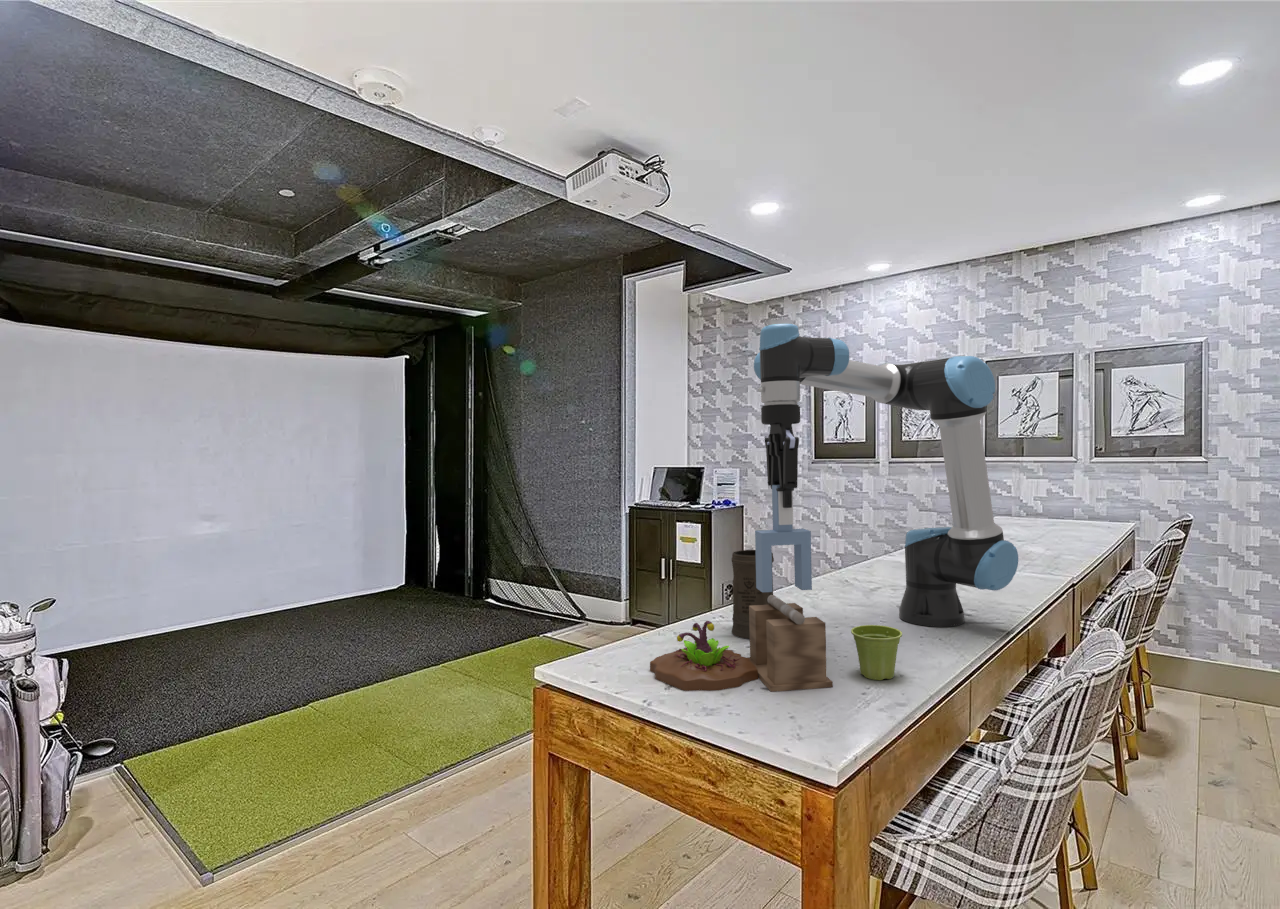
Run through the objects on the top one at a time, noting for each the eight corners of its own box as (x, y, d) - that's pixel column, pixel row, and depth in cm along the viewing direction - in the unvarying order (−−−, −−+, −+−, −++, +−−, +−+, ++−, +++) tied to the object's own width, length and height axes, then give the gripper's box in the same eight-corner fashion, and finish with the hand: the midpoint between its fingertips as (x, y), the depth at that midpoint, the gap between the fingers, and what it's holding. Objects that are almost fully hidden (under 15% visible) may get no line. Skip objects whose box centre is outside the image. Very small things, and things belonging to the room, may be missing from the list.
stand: (799, 658, 144) (798, 592, 144) (832, 687, 127) (831, 612, 127) (744, 662, 143) (743, 595, 142) (770, 691, 126) (769, 616, 126)
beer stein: (777, 641, 157) (775, 553, 158) (730, 639, 159) (728, 553, 160) (777, 627, 172) (775, 547, 173) (734, 626, 174) (733, 547, 175)
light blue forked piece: (804, 585, 137) (802, 483, 137) (811, 589, 133) (809, 485, 133) (756, 588, 136) (754, 485, 136) (762, 592, 132) (760, 486, 132)
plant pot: (897, 687, 127) (896, 640, 126) (846, 678, 132) (845, 634, 131) (907, 672, 135) (906, 628, 134) (858, 664, 140) (858, 622, 139)
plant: (685, 700, 124) (683, 638, 124) (638, 669, 142) (637, 615, 141) (774, 680, 133) (773, 623, 132) (720, 653, 150) (719, 603, 150)
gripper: (750, 406, 141) (752, 519, 142) (775, 402, 126) (777, 529, 126) (784, 406, 142) (787, 518, 143) (814, 401, 126) (816, 527, 127)
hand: (782, 523), depth 134 cm, fingers closed on light blue forked piece, 3 cm apart
